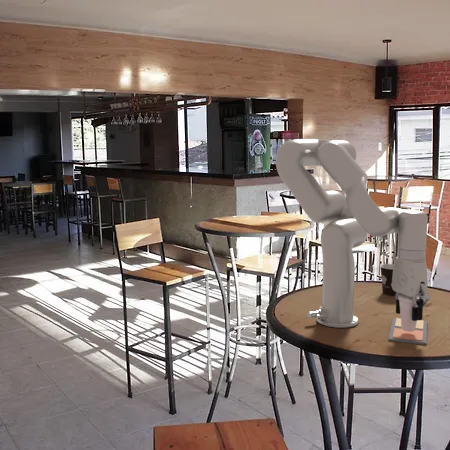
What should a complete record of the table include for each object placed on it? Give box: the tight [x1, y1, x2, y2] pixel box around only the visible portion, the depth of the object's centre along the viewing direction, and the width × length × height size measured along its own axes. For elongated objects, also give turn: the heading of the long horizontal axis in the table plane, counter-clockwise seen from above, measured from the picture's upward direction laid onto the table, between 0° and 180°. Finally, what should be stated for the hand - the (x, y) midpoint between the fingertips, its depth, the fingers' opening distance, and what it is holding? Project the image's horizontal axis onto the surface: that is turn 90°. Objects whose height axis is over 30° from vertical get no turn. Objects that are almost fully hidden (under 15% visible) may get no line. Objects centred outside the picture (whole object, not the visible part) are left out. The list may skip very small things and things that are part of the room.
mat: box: [388, 317, 428, 346], centre depth 169 cm, size 20×10×1 cm, turn 160°
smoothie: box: [398, 294, 419, 332], centre depth 163 cm, size 6×6×14 cm
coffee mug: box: [380, 263, 395, 297], centre depth 208 cm, size 12×9×10 cm
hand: (408, 316), depth 164 cm, fingers closed on smoothie, 6 cm apart
